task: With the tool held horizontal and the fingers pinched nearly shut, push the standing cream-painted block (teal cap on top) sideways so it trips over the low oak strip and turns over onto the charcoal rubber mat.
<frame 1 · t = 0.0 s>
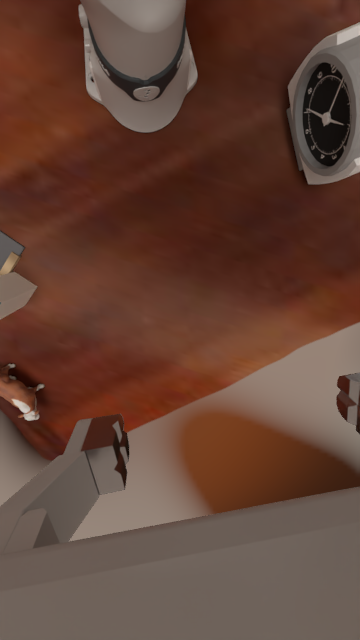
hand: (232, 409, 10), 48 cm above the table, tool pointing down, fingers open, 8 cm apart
bull figurine: (28, 381, 61), on the table
cream block: (19, 288, 54), on the table
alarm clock: (305, 136, 50), on the table
oak stop strip: (3, 278, 53), resting on charcoal rubber mat
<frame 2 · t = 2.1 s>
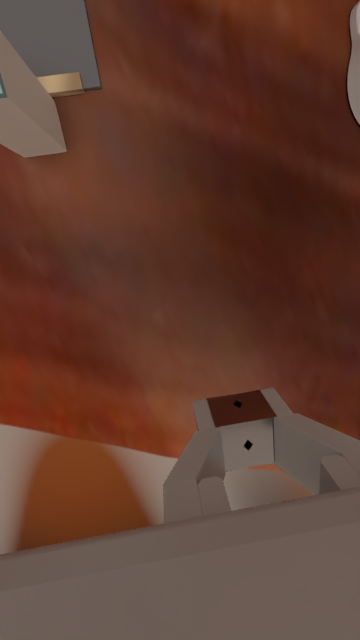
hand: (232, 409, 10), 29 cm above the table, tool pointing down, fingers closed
cream block: (39, 130, 31), on the table
oak stop strip: (29, 92, 30), resting on charcoal rubber mat
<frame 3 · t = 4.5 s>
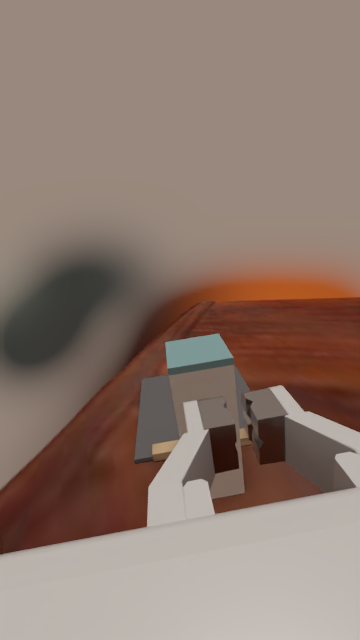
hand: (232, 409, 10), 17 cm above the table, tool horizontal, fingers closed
cream block: (212, 474, 27), on the table
charcoal rubber mat: (195, 404, 38), on the table
oak stop strip: (206, 446, 30), resting on charcoal rubber mat
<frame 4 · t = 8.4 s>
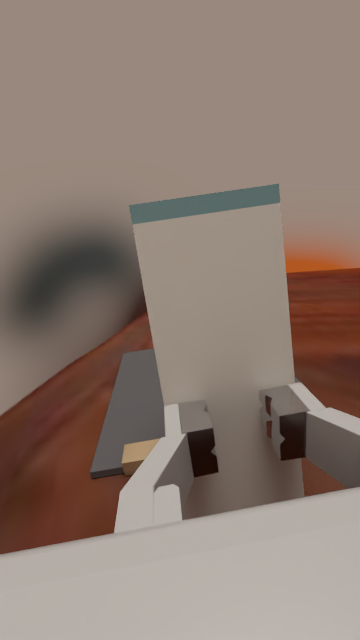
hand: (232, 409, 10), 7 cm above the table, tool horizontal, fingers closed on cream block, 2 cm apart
cream block: (233, 497, 14), on the table, tilted 9°, touching gripper
charcoal rubber mat: (199, 383, 25), on the table
oak stop strip: (219, 449, 17), resting on charcoal rubber mat
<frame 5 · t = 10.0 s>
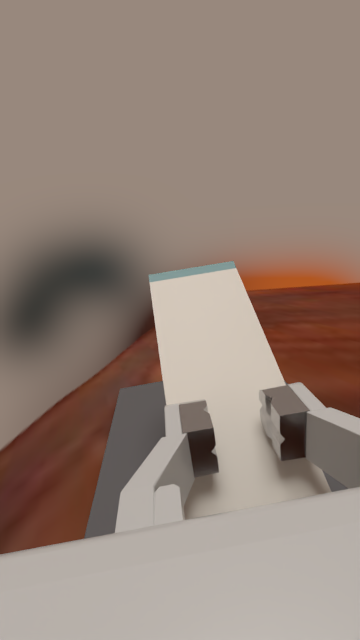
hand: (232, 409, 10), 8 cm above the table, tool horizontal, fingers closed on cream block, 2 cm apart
cream block: (269, 594, 9), point 2 cm above the table, tilted 53°, touching gripper, oak stop strip
charcoal rubber mat: (211, 433, 21), on the table
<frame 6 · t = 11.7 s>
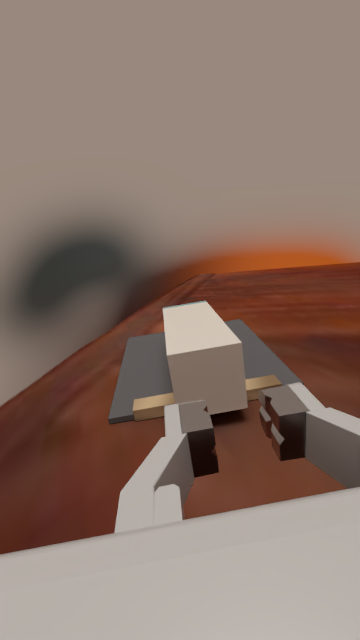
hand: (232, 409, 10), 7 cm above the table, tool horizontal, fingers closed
cream block: (209, 382, 18), point 4 cm above the table, tilted 93°, touching charcoal rubber mat, oak stop strip
charcoal rubber mat: (193, 358, 30), on the table
oak stop strip: (207, 402, 22), resting on charcoal rubber mat
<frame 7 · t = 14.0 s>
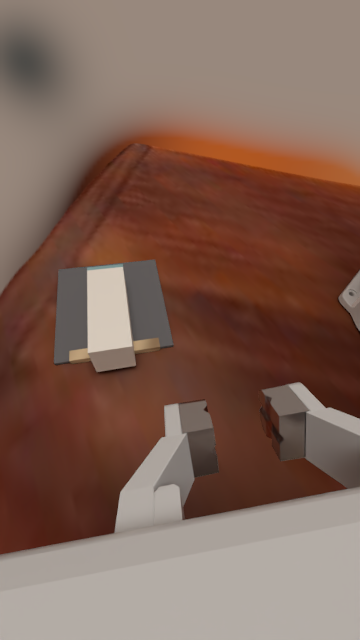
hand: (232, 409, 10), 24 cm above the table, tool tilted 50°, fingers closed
cream block: (113, 359, 32), point 4 cm above the table, tilted 93°, touching charcoal rubber mat, oak stop strip
charcoal rubber mat: (112, 306, 41), on the table
oak stop strip: (116, 352, 37), resting on charcoal rubber mat
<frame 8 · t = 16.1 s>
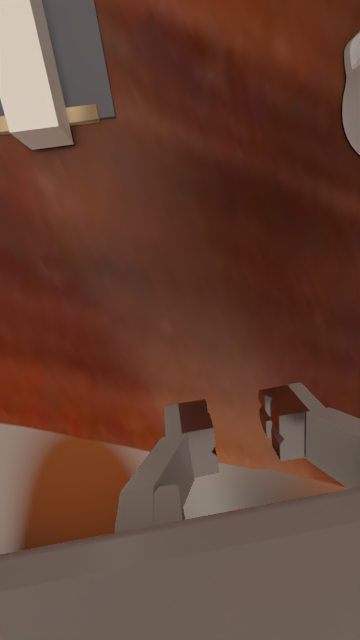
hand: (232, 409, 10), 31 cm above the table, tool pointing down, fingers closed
cream block: (44, 138, 30), point 4 cm above the table, tilted 93°, touching charcoal rubber mat, oak stop strip
charcoal rubber mat: (27, 37, 30), on the table
oak stop strip: (49, 121, 32), resting on charcoal rubber mat
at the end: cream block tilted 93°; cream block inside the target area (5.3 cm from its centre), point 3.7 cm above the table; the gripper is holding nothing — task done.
